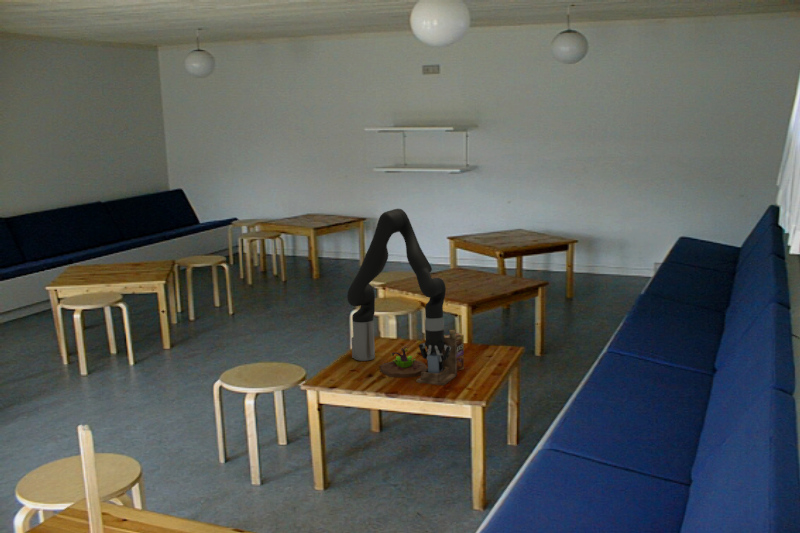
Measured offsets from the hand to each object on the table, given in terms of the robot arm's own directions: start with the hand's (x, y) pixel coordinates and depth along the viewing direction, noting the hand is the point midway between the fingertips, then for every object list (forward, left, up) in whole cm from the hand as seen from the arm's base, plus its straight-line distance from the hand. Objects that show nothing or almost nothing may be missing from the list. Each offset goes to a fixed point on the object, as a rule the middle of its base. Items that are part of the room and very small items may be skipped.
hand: (435, 369), depth 303 cm
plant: (-17, +6, -5) cm, 19 cm away
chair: (0, +1, -4) cm, 4 cm away
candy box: (+2, +14, -5) cm, 15 cm away
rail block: (0, 0, -2) cm, 2 cm away
